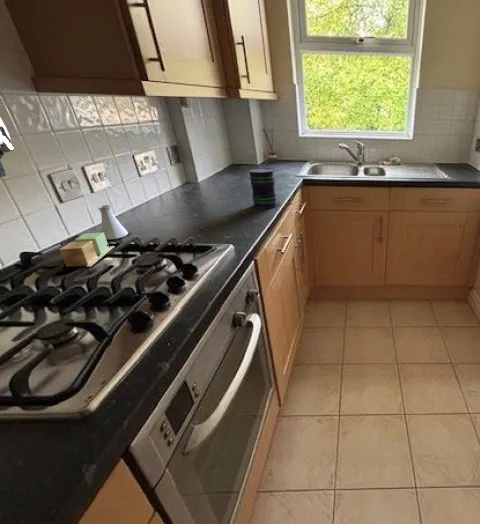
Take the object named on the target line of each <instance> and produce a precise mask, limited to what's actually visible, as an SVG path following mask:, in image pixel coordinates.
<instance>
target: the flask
mask: <svg viewBox="0 0 480 524" xmlns="http://www.w3.org/2000/svg"><path fill="white" fill-rule="evenodd" d="M97 209H98V210H99V211H100V217H101V222H100V225H101V226H100V232H99V233H104V235H105V237H106V240H117V239H120V238H123V237H126V236H127V235H128V234H129V232H128V230H126V228H125V227H124V226H123V225H122V224H121V223H120V221H119V220H118V219H117V218H116V216H115V215H114V212H113V210H112V205H110V204H105V205H104V204H103V205H100V206H98V207H97Z"/></svg>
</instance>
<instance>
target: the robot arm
mask: <svg viewBox="0 0 480 524" xmlns="http://www.w3.org/2000/svg"><path fill="white" fill-rule="evenodd" d="M14 150H15V148H14V147H13V146H12V139H11V136H10V133H9V131H8V129H7V127H6V125H5V124H4V121H3V119H2V118H1V117H0V178H3V177H6V176H7V174H6V170H5V168H4V165H3V163H2V161H1V160H2V159H3V156H4V155H5V154H6V153H11V152H14Z"/></svg>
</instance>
